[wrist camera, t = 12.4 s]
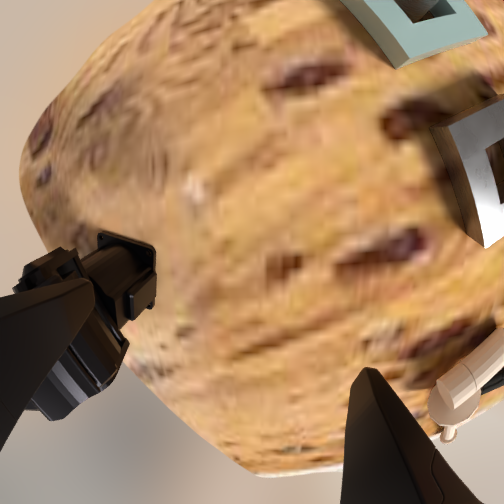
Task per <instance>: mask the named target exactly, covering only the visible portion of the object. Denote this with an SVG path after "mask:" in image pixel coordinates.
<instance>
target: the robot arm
mask: <svg viewBox="0 0 504 504" xmlns="http://www.w3.org/2000/svg"><path fill="white" fill-rule="evenodd" d="M102 237H103V238H102ZM97 241H98V249H97V250H95V251H93V252H92V253H90V254H89V255H87V256H85V257H84V258H82V259H81V260H80V258H79V256H78V252H77V249H76V248H75V249H73V250H71V251H68V249H67V250H64V249H63V248H61V247H59V248H57V249H55V250H53V251H52V252H50V253H48V254H46V255H44V256H42V257H40V258H38V259H36V260H34V261H33V262H30V263H29V264H27V265H25V266H24V269H23V274H22V278H20V279H19V280H18V281H19V284H17V285H16V286H14V287H13V288H12V289H13V291H14V293H15V294H13V295H8V296H4V297H0V451H1V450H2V448H3V446H4V444H5V442H6V440H7V439H8V437H9V435H10V433H11V431H12V430H13V428H14V426H15V425H16V423H17V421H18V419H19V417H20V416H21V414H22V412H23V411H24V410H32V411H40V412H42V414H43V415H44V416H45V417H46V418H47V419H48V420H49V421H55V420H60V419H63V418H65V417H66V416H67V415H68V414H69V413H70V412H71V411H72V410H73V409H75V408H76V407H77V406H78V405H79V404H81V403H82V402H83V401H85V400H86V399H88V398H90V397H91V396H94V395H96V394H98V393H100V392H101V391H103V390H104V389H106V388H107V387H108V386H109V385H110V384H111V383H112V382H113V380H114V379H115V377H116V375H117V373H118V370H119V368H120V366H121V363H122V361H123V359H124V356H125V354H126V352H127V349H128V347H129V345H130V343H129V341H128V340H127V338H125V337H124V336H123V334H122V333H121V331H120V329H121V328H122V327H123V326H124V325H125V324H126V323H127V321H128V320H131V321H133V320H135V319H136V318H137V317H138V316H139V315H140V314H141V312H142V311H143V310H144V309H145V308H147V309H152V308H153V307H154V305H155V297H156V281H157V274H156V271H155V266H156V250H155V249H154V248H153V247H151V246H148V245H145V244H142V243H139V242H135V241H132V240H129V239H126V238H123V237H120V236H116V235H113V234H110V233H107V232H104V231H102V232H100V233H98V235H97ZM149 251H150V252H151V254H150V253H149ZM149 304H150V305H149ZM340 504H484V503H482V502H481V501H479V500H478V499H477V498H476V496H475V495H474V494H473V493H472V492H471V491H470V490H469V488H468V487H467V486H466V485H465V484H464V483H463V482H462V480H461V479H460V478H459V477H458V476H457V475H456V473H455V472H454V471H453V470H452V468H451V467H450V466H449V464H448V463H447V462H446V461H445V459H444V458H443V456H442V455H441V454H440V452H439V451H438V450H437V449H435V446H434V444H433V443H432V441H431V440H430V439H429V437H428V436H427V434H426V433H425V432H424V430H423V429H422V428H421V426H420V425H419V424H418V422H417V421H416V419H415V418H414V417H413V415H412V414H411V413H410V411H409V410H408V409H407V407H406V406H405V405H404V403H403V402H402V401H401V399H400V398H399V397H398V396H397V394H396V393H395V392H394V390H393V389H392V388H391V386H390V385H389V384H388V382H387V381H386V380H385V379H384V377H383V376H382V375H381V373H380V372H379V371H378V370H377V369H375V368H370V367H365V368H363V369H362V370H361V372H360V373H359V375H358V376H357V378H356V379H355V381H354V382H353V384H352V386H351V389H350V397H349V406H348V414H347V421H346V429H345V446H344V465H343V478H342V490H341V500H340Z"/></svg>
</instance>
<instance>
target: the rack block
mask: <svg viewBox="0 0 504 504" xmlns="http://www.w3.org/2000/svg"><path fill="white" fill-rule="evenodd" d="M340 1H341V2H342V3H343V4H344V5H345V6H346V7H347V8H348V9H349V11H350V12H351V13H352V14H353V15H354V16H355V17H356V18H357V19H358V21H359V22H360V23H361V24H362V25H363V27H364V28H365V29H366V30H367V31H368V33H369V34H370V35H371V36H372V38H373V39H374V40H375V41H376V43H377V44H378V45H379V47H380V48H381V49H382V51H383V52H384V54H385V55H386V56H387V58H388V59H389V61H390V62H391V64H392V65H393V66H394V68H395V69H399V68H401V67H403V66H406V65H408V64H411V63H414V62H416V61H419V60H421V59H424V58H427V57H430V56H432V55H435V54H438V53H441V52H444V51H447V50H450V49H453V48H457V47H460V46H463V45H467V44H470V43H472V42H474V41H476V40H478V39H480V38H482V37H484V36H486V35H488V33H487V32H486V30H485V29H484V27H483V26H482V24H481V23H480V21H479V20H478V18H477V17H476V15H475V14H474V13H473V11H472V10H471V9H470V7H469V6H468V5H467V3H466V2H465V1H464V0H439V1H438V2H437V3H436V4H435V5H434V6H433V7H432V8H431V9H430V10H429V11H430V12H431V13H432V15H433V16H434V17H435V18H433V19H429V20H425V21H421V22H418V23H414V24H413V23H412V22H411V20H410V19H409V18H408V17H407V15H406V14H405V13H404V12H403V11H402V9H401V8H400V7H399V6H398V5H397V4H396V3H395V1H394V0H340Z"/></svg>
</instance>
